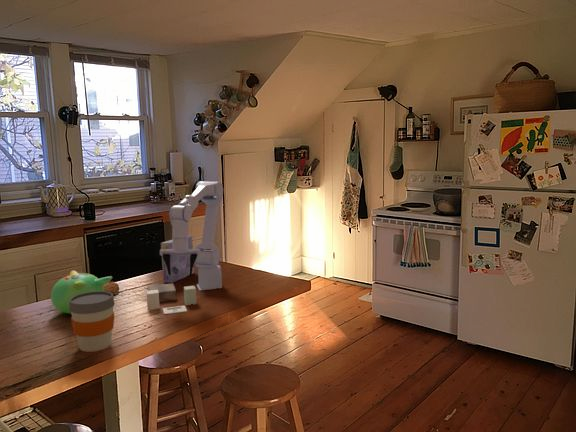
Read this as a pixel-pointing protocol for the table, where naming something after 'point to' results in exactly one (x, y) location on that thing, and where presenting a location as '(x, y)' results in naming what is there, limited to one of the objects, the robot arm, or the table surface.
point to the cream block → (153, 299)
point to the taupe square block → (164, 291)
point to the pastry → (111, 287)
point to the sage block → (190, 295)
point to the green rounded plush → (75, 288)
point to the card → (174, 309)
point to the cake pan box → (176, 263)
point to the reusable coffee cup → (92, 319)
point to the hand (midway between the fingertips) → (180, 274)
